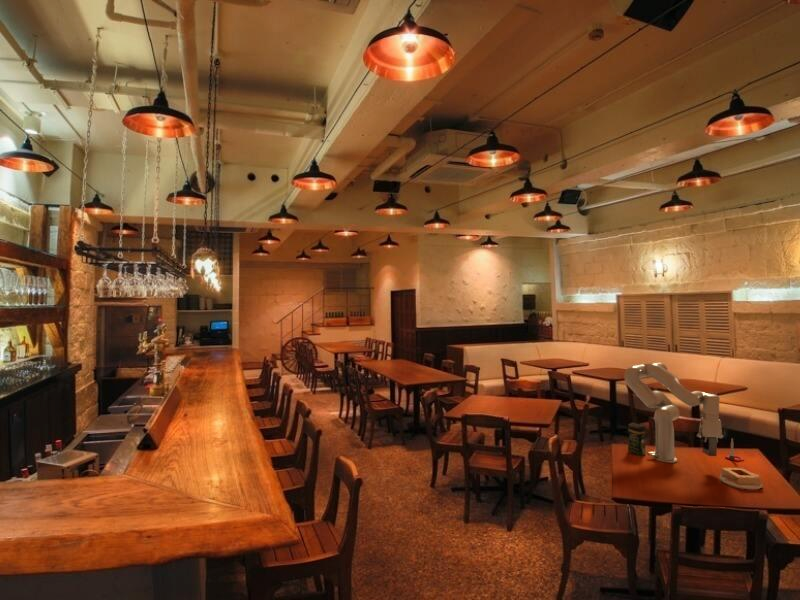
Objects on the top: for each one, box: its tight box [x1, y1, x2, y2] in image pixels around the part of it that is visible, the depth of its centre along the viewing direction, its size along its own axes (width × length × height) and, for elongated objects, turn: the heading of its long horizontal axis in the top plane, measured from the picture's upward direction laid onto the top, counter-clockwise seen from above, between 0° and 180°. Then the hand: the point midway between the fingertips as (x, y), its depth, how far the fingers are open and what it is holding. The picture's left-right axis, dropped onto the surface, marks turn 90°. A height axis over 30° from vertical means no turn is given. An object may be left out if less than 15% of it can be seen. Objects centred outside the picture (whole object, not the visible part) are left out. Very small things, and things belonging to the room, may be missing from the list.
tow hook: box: [724, 438, 745, 463], centre depth 273 cm, size 8×13×9 cm
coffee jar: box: [627, 422, 647, 456], centre depth 284 cm, size 10×8×19 cm
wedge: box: [701, 437, 718, 457], centre depth 255 cm, size 4×6×10 cm, turn 177°
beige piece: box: [719, 467, 763, 491], centre depth 238 cm, size 18×18×6 cm
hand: (709, 448), depth 255 cm, fingers closed on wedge, 4 cm apart
